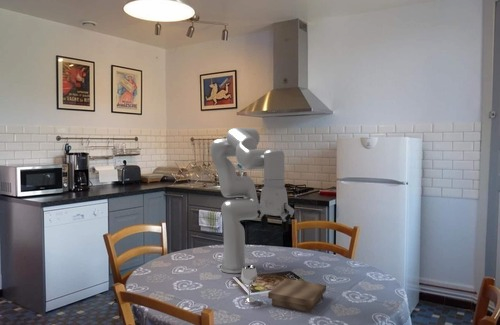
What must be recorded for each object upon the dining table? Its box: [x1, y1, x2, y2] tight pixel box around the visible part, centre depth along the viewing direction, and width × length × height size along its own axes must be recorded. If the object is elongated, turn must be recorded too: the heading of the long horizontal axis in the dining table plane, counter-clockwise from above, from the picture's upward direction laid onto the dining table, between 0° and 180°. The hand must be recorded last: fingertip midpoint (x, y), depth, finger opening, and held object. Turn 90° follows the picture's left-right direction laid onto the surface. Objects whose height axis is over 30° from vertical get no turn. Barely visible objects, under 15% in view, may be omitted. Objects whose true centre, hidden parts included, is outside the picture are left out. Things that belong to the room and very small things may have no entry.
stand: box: [267, 278, 327, 313], centre depth 140 cm, size 16×16×4 cm
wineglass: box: [240, 264, 258, 304], centre depth 140 cm, size 6×6×12 cm
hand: (274, 230), depth 143 cm, fingers open, 9 cm apart
